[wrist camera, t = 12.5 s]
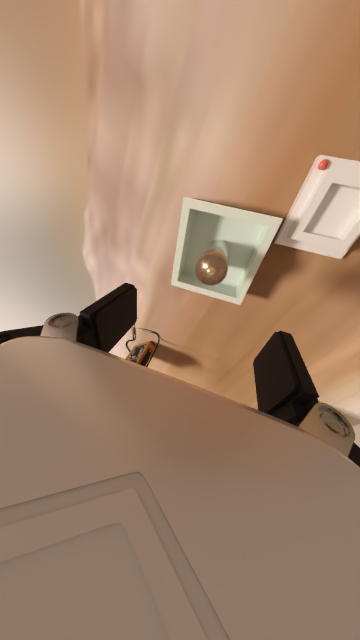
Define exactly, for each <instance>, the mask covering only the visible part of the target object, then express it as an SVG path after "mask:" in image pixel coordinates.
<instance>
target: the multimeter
mask: <svg viewBox="0 0 360 640" xmlns="http://www.w3.org/2000/svg"><path fill="white" fill-rule="evenodd" d="M136 329H138V328H136ZM140 330H142V331H146V332H150V333H155V332H152V331H149V330H145V329H140ZM155 334H157V333H155ZM132 335H133V340H134V328H133V326H132ZM157 336H158V339H159V335H158V334H157ZM133 340H128V341H133ZM159 340H160V339H159ZM159 340H158V344H159ZM128 341H127V342H128ZM127 342H126V347H127ZM158 344H157V346H158ZM157 346H156V348H157ZM156 348H155V346H154V345H153V344H152V343H151V341H149V342H146V343H143V344H140V345H136V346H134V348H133V349H132V350H131V352H130V350H129V349H128V347H127V349H128V350H129V352H130V353H129V355H128V356H127V357H126V360H129V361H131V362H134V363H137V364H139V365H142V366H145V367H147V366H148V364H149V363H150V361H151V359H152V357H153V355H154V353H155V351H156ZM149 359H150V360H149ZM148 361H149V362H148ZM147 363H148V364H147ZM146 365H147V366H146Z"/></svg>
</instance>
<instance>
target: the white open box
mask: <svg viewBox="0 0 360 640" xmlns="http://www.w3.org/2000/svg"><path fill="white" fill-rule="evenodd" d="M282 220H283V218H279V217H275V216H270V215H266V214H261V213H257V212H252V211H248V210H243V209H239V208H234V207H229V206H225V205H220V204H216V203H211V202H207V201H202V200H198V199H193V198H188V197H184V198H183V205H182V211H181V218H180V225H179V232H178V239H177V246H176V253H175V260H174V267H173V274H172V281H171V285H173V286H177V287H180V288H184V289H187V290H190V291H194V292H197V293H201V294H204V295H207V296H211V297H214V298H218V299H221V300H225V301H228V302H231V303H235V304H238V305H240V304H241V302H242V300H243V298H244V296H245V294H246V292H247V290H248V288H249V286H250V284H251V282H252V280H253V278H254V276H255V274H256V272H257V270H258V268H259V266H260V264H261V262H262V260H263V258H264V256H265V254H266V252H267V250H268V248H269V246H270V244H271V242H272V240H273V238H274V236H275V234H276V232H277V230H278V228H279V226H280V224H281V222H282ZM214 240H223V241H225V242H226V243H227V244H228V246H229V258H228V271H227V275H226V277H225V279H224V280H223V281H222V282H220V283H219V284H217V285H205V284H203V283H202V282H200V281H199V280H198V278H197V276H196V273H195V267H196V264H197V262H198V260H199V259H200V257H201V256H202V254H203V253H204V252H205V250H206V249H207V247H208V246H209V244H210V243H211V242H212V241H214Z"/></svg>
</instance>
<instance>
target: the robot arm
mask: <svg viewBox="0 0 360 640" xmlns="http://www.w3.org/2000/svg"><path fill="white" fill-rule="evenodd" d="M136 320H137V289H136V288H135V286H134V285H132V284H128V283H124V284H123V285H121V286H120V287H118V288H116V289H115V290H113V291H112V292H110V293H109V294H107V295H105V296H104V297H102V298H101V299H99V300H98V301H96V302H95V303H93V304H92V305H90V306H88V307H87V308H85V309H84V310H82V311H81V312H80V315H79V316H78V317H77V316H76V315H74V314H72V313H60V314H56V315H53V316H51V317H49V318H48V319H47V320H46V321H45V323H44V325H42V326H36V327H29V328H22V329H15V330H8V331H3V332H0V640H360V448H359V447H358V446H357V445H356V444H355V443H354V440H355V433H354V430H353V428H352V426H351V425H350V423H349V422H348V421H347V419H346V418H345V417H344V416H343V415H342V414H341V413H340V412H338V411H337V410H336V409H334V408H333V407H331V406H329V405H327V404H324V403H319V402H318V399H317V398H318V397H319V395H318V393H317V391H316V388H315V386H314V384H313V382H312V379H311V377H310V375H309V373H308V370H307V368H306V366H305V364H304V361H303V359H302V357H301V355H300V352H299V350H298V348H297V346H296V344H295V341H294V339H293V337H292V335H291V334H289V333H286V332H283V331H279V332H275V333H274V334H273V335H272V337H271V338H270V339H269V341H268V342H267V343H266V345H265V346H264V347H263V349H262V350H261V351H260V353H259V354H258V355H257V357H256V358H255V360H254V363H253V365H254V374H255V384H256V393H257V402H258V410H256V409H254V408H251V407H249V406H246V405H244V404H241V403H239V402H236V401H233V400H231V399H228V398H226V397H223V396H220V395H218V394H215V393H213V392H210V391H208V390H205V389H202V388H200V387H197V386H195V385H192V384H189V383H187V382H184V381H182V380H179V379H176V378H174V377H171V376H168V375H166V374H163V373H161V372H158V371H155V370H153V369H150V368H147V367H145V366H142V365H139V364H137V363H134V362H131V361H129V360H126V359H123V358H121V357H118V356H115V355H113V354H110V353H108V352H109V351H110V350H111V349H112V348H113V347H114V346H115V345H116V344H117V342H118V341H119V340H120V339H121V338H122V337H123V336H124V335H125V334H126V333H127V331H128V330H129V329H130V328H131V327H132V326H133V325H134V324H135V322H136Z"/></svg>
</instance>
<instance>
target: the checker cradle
mask: <svg viewBox="0 0 360 640" xmlns="http://www.w3.org/2000/svg"><path fill="white" fill-rule="evenodd" d="M359 236H360V162H359V161H354V160H348V159H342V158H336V157H330V156H324V155H319V156H318V157H317V158H316V159H315V161H314V163H313V165H312V167H311V169H310V171H309V173H308V175H307V177H306V179H305V181H304V183H303V185H302V187H301V189H300V191H299V193H298V195H297V197H296V199H295V201H294V203H293V205H292V207H291V209H290V211H289V213H288V215H287V217H286V219H285V221H284V223H283V225H282V227H281V229H280V231H279V233H278V235H277V237H276V239H275V241H274V243H275V244H280V245H284V246H288V247H292V248H296V249H300V250H305V251H309V252H313V253H317V254H321V255H326V256H330V257H334V258H338V259H342V257H343V256H344V255H345V254H346V252H347V251H348V250H349V249H350V248H351V246H352V245H353V244H354V243H355V241H356V240H357V239H358V238H359Z"/></svg>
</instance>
